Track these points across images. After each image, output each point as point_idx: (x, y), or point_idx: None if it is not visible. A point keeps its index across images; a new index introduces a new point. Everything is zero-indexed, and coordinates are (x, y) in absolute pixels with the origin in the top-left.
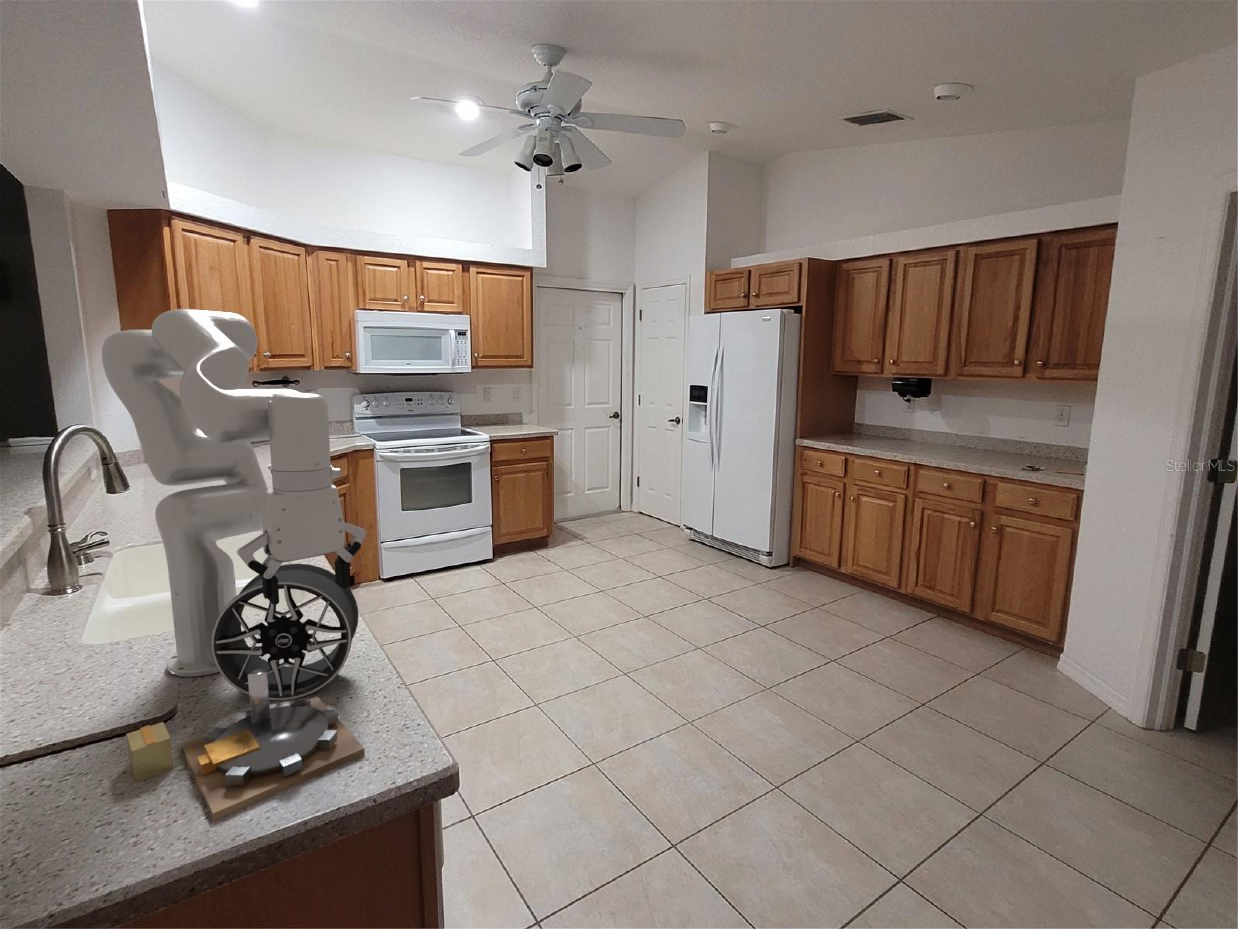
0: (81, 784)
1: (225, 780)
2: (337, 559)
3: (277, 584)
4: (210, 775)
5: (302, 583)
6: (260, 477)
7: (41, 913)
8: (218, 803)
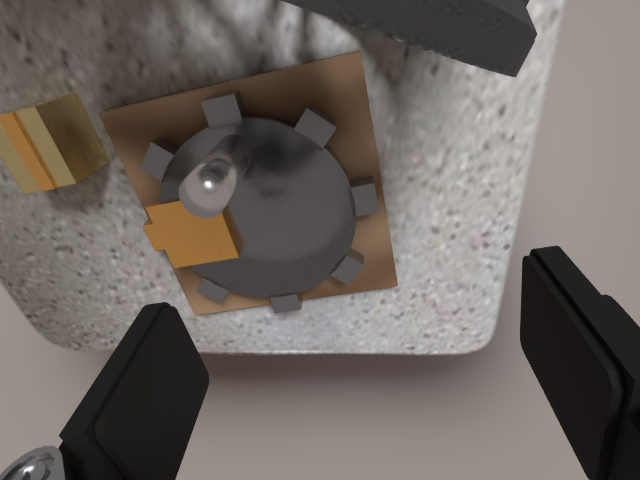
0: None
1: None
2: (633, 406)
3: (174, 471)
4: None
5: (348, 15)
6: None
7: (67, 347)
8: (198, 302)
